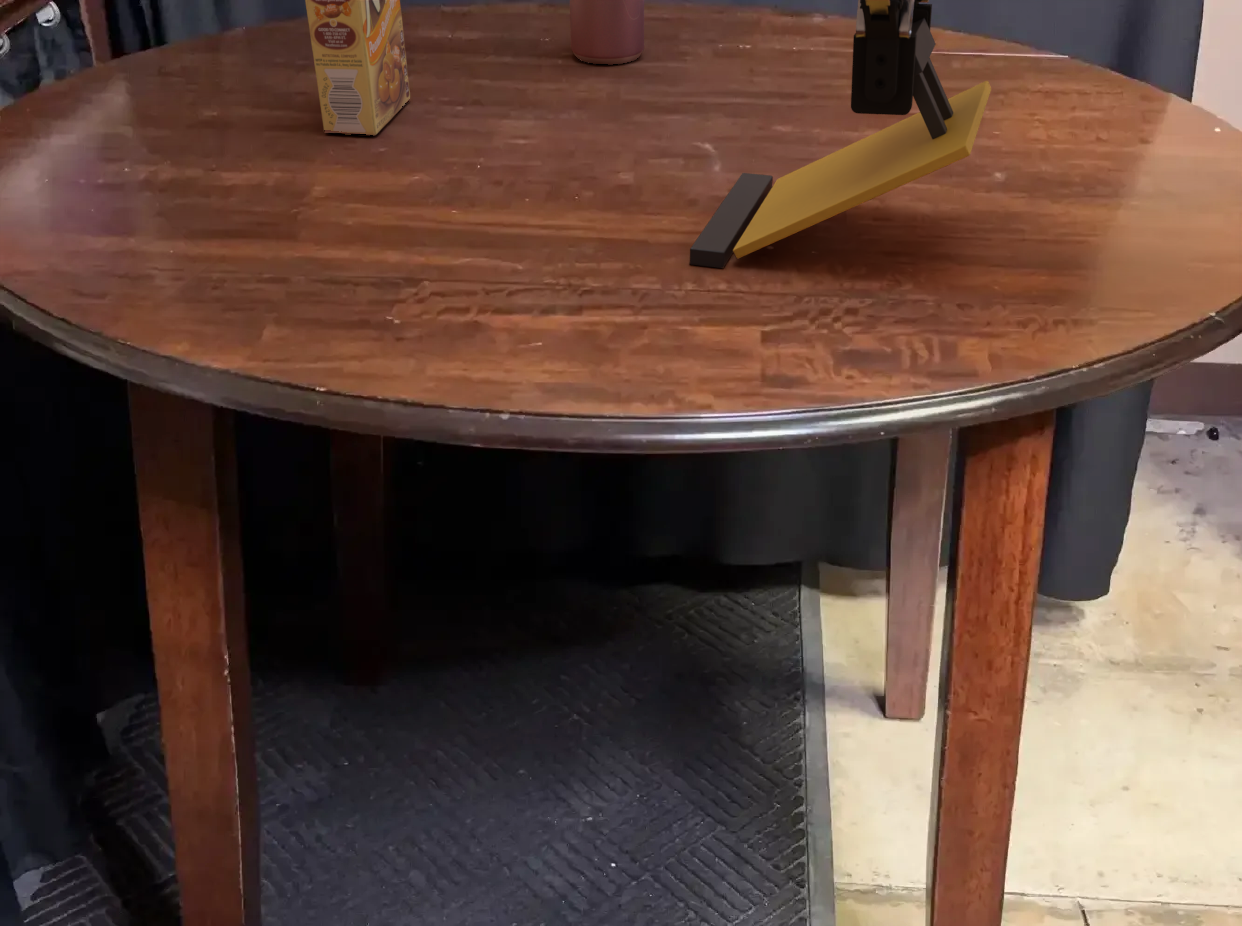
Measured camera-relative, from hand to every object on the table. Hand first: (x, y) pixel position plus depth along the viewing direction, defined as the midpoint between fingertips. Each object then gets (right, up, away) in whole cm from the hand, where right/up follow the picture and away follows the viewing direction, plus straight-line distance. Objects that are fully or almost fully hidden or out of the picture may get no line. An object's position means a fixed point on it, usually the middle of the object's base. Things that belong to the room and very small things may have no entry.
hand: (890, 91), depth 78 cm
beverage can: (-16, +16, +37) cm, 44 cm away
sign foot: (-8, -6, +7) cm, 12 cm away
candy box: (-33, +7, +25) cm, 42 cm away
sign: (-1, -4, +3) cm, 5 cm away
